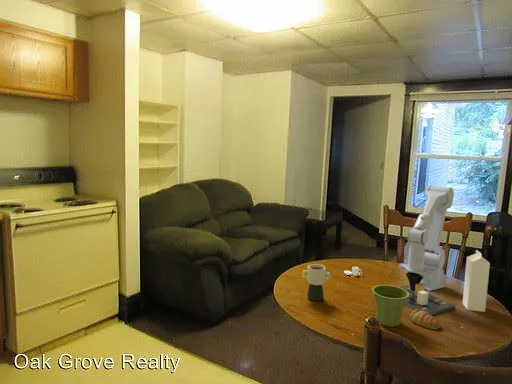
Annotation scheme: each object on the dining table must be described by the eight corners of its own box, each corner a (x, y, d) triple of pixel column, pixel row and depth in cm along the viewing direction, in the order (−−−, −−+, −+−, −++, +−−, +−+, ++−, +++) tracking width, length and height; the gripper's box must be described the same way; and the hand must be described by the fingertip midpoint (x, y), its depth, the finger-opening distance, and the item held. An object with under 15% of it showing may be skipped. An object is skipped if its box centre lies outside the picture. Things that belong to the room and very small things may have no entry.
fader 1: (419, 293, 146) (420, 282, 146) (424, 295, 144) (425, 284, 144) (414, 294, 145) (415, 284, 144) (419, 296, 143) (420, 286, 142)
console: (407, 287, 156) (407, 284, 156) (455, 308, 137) (455, 304, 136) (381, 293, 149) (382, 290, 149) (428, 316, 130) (429, 312, 130)
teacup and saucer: (341, 275, 171) (342, 267, 171) (350, 271, 176) (351, 263, 176) (357, 280, 165) (358, 271, 164) (367, 276, 170) (367, 268, 170)
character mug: (329, 296, 146) (330, 265, 144) (329, 303, 139) (330, 271, 137) (302, 293, 148) (303, 263, 146) (300, 300, 141) (301, 268, 139)
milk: (467, 310, 135) (472, 253, 132) (462, 303, 141) (467, 248, 138) (485, 312, 134) (490, 254, 131) (479, 305, 140) (484, 250, 137)
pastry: (444, 327, 122) (445, 316, 122) (433, 333, 118) (434, 322, 118) (418, 316, 130) (418, 306, 129) (407, 321, 126) (408, 311, 126)
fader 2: (422, 301, 138) (422, 290, 138) (427, 304, 136) (428, 292, 136) (416, 303, 137) (417, 291, 136) (422, 305, 135) (423, 294, 134)
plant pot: (367, 313, 131) (369, 283, 130) (401, 315, 130) (403, 285, 128) (374, 329, 119) (376, 297, 118) (411, 332, 118) (414, 299, 117)
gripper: (394, 254, 150) (392, 285, 151) (425, 264, 137) (422, 298, 139) (406, 252, 153) (404, 283, 155) (437, 262, 140) (434, 295, 142)
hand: (413, 290), depth 147 cm, fingers closed
